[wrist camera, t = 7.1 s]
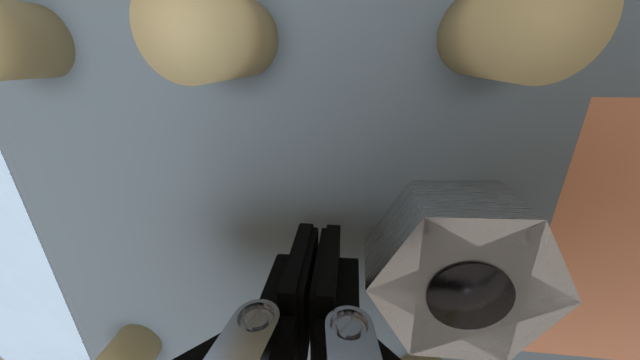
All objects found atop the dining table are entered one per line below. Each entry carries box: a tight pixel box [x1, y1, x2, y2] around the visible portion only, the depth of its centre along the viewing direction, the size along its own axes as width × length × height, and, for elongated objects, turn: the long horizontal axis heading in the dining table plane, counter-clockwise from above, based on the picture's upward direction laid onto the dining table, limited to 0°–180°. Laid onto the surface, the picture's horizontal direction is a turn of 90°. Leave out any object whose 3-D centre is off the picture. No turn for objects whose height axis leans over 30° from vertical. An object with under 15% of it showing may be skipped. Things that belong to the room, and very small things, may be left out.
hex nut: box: [364, 180, 582, 360], centre depth 11 cm, size 7×6×3 cm
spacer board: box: [0, 0, 640, 360], centre depth 11 cm, size 39×22×4 cm, turn 91°
